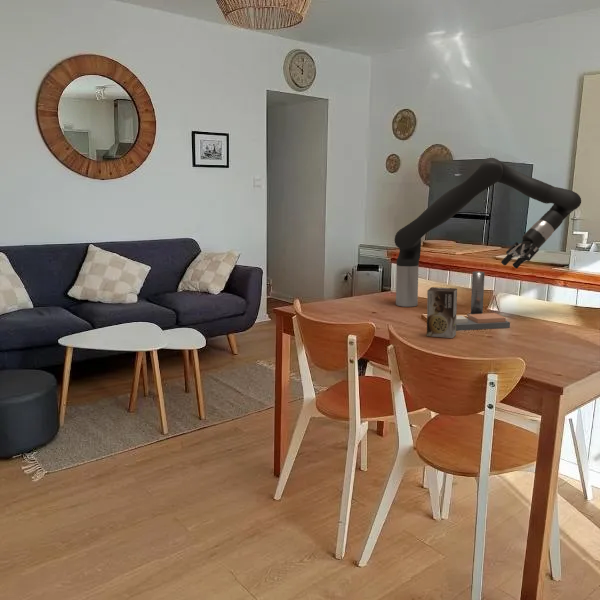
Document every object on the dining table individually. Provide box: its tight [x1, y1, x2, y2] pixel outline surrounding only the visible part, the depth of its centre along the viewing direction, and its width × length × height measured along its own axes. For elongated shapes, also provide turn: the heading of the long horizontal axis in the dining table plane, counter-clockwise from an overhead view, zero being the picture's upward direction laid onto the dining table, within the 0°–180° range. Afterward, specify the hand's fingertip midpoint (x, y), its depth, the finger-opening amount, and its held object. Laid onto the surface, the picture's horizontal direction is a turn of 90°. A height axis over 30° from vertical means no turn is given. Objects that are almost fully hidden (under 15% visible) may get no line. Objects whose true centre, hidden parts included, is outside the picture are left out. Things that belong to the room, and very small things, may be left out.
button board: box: [456, 317, 511, 332], centre depth 211 cm, size 10×22×2 cm, turn 99°
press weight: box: [466, 271, 486, 317], centre depth 221 cm, size 7×7×18 cm
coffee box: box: [426, 286, 458, 339], centre depth 197 cm, size 9×6×16 cm
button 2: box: [467, 312, 507, 324], centre depth 211 cm, size 8×11×2 cm
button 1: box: [456, 315, 468, 324], centre depth 209 cm, size 5×5×2 cm
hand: (508, 265), depth 221 cm, fingers open, 8 cm apart
